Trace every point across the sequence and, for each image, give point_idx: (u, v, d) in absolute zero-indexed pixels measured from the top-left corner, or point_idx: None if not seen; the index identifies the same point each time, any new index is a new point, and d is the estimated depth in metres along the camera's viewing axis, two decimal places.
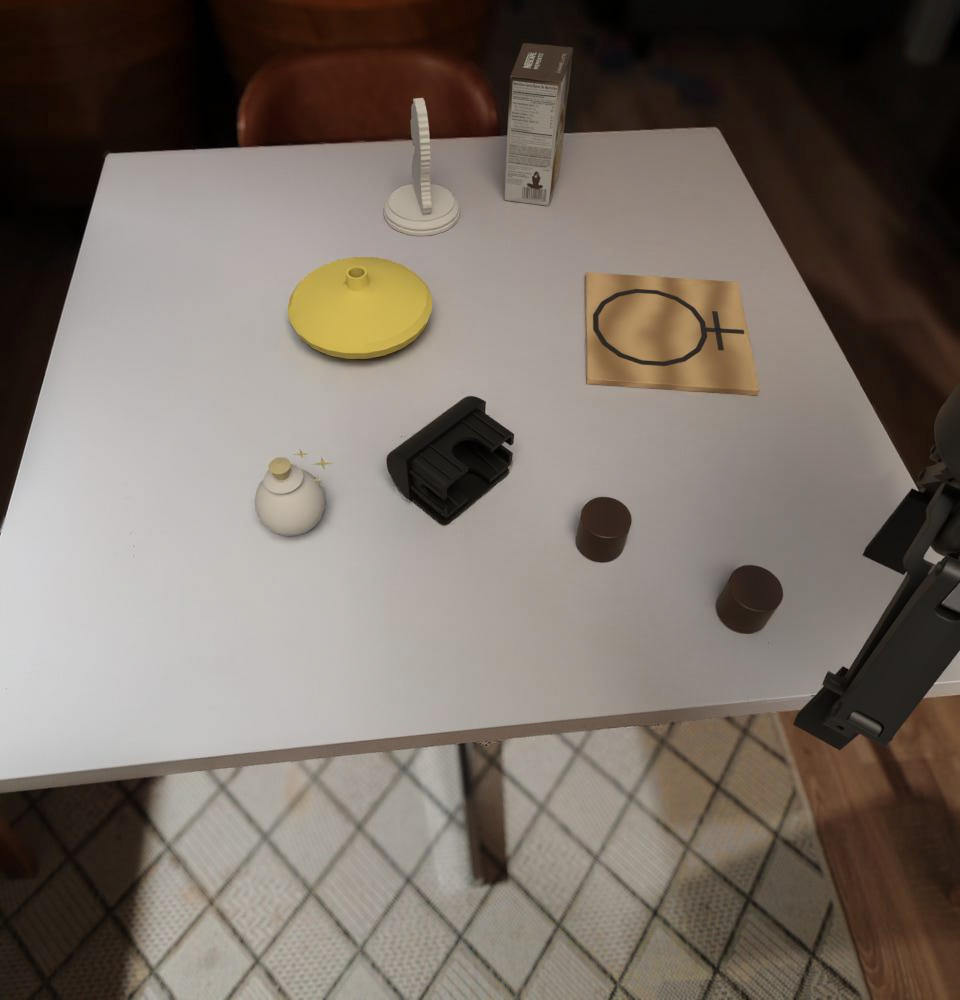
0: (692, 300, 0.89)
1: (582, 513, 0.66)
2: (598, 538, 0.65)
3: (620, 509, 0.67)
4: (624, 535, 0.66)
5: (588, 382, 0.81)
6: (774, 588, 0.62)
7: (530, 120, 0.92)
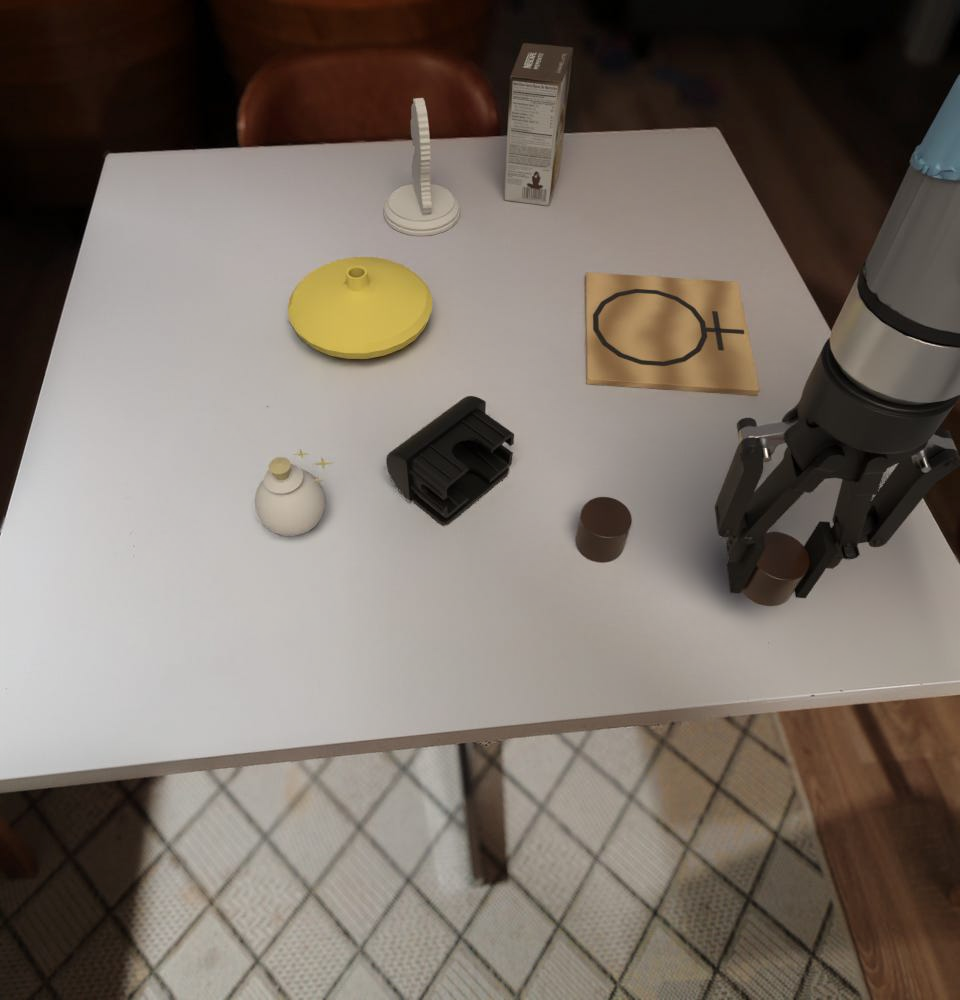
0: (692, 300, 0.89)
1: (582, 513, 0.66)
2: (598, 538, 0.65)
3: (620, 509, 0.67)
4: (624, 535, 0.66)
5: (588, 382, 0.81)
6: (800, 556, 0.58)
7: (530, 120, 0.92)
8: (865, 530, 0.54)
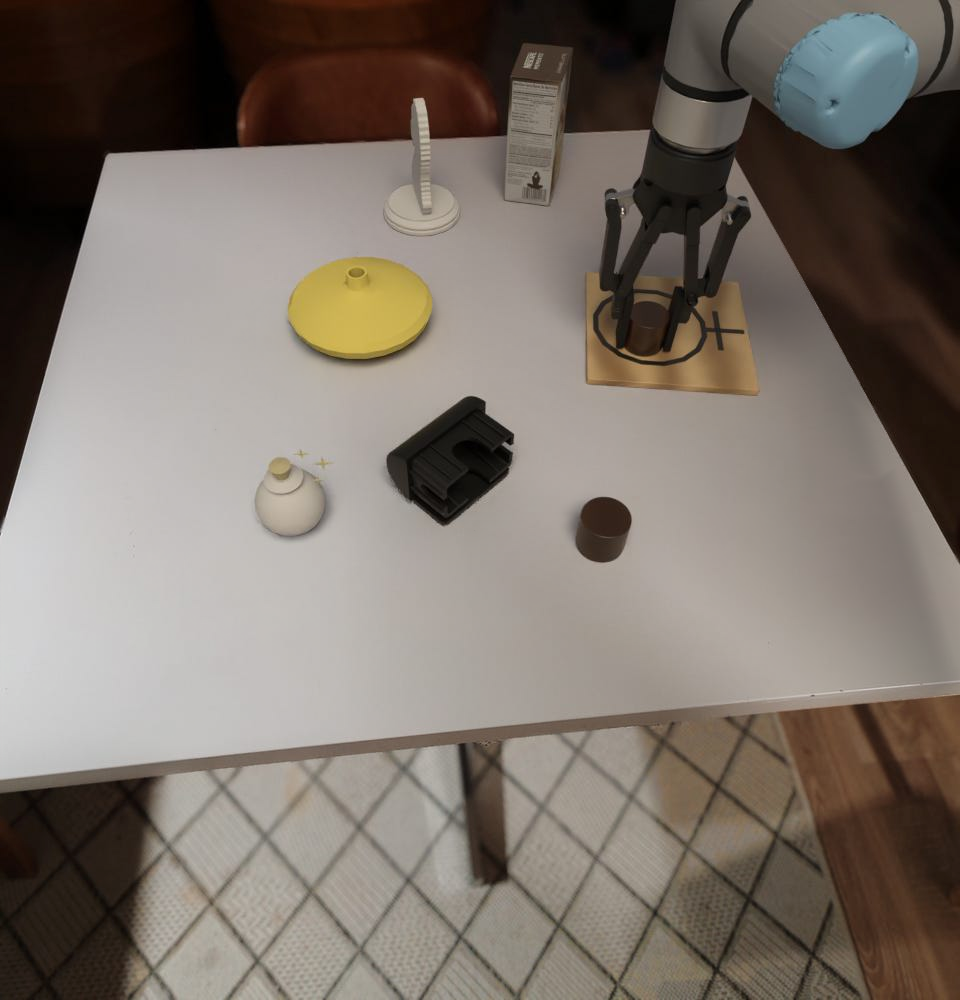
0: None
1: (582, 513, 0.66)
2: (598, 538, 0.65)
3: (620, 509, 0.67)
4: (624, 535, 0.66)
5: (588, 382, 0.81)
6: (663, 314, 0.81)
7: (530, 120, 0.92)
8: (702, 285, 0.77)
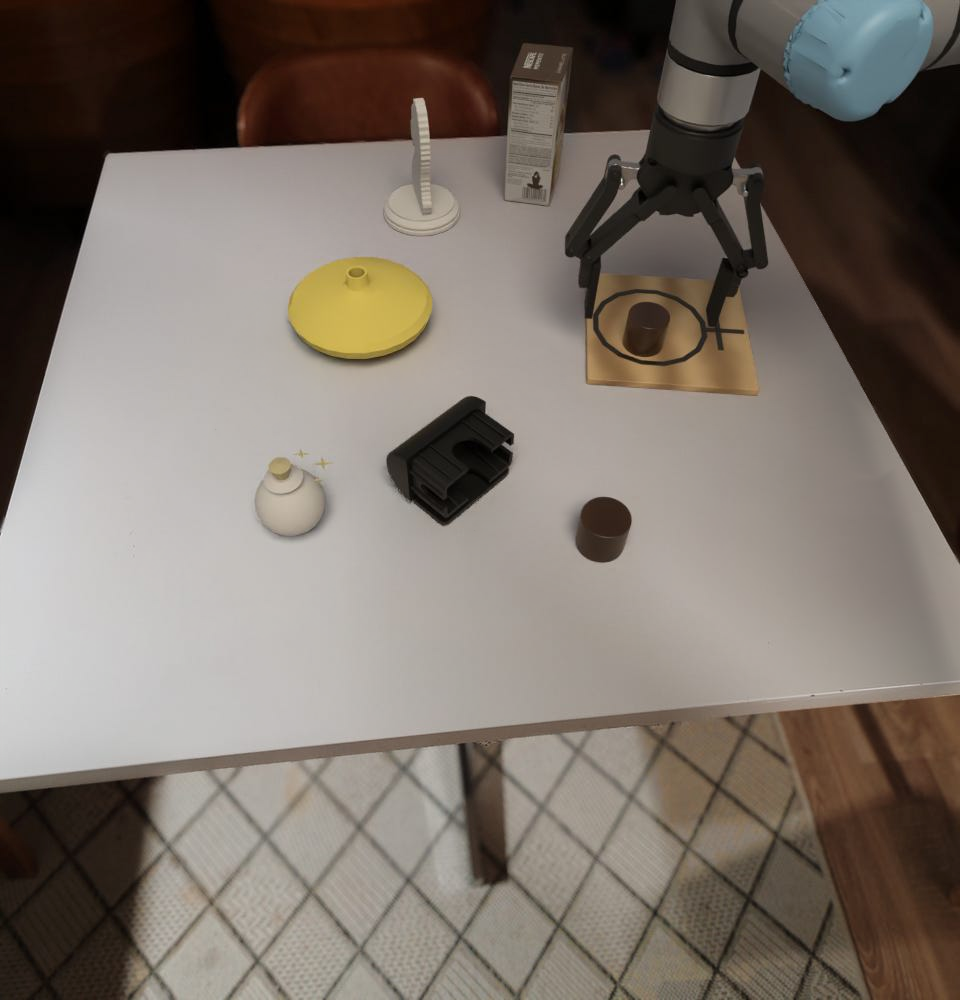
0: (692, 300, 0.89)
1: (582, 513, 0.66)
2: (598, 538, 0.65)
3: (620, 509, 0.67)
4: (624, 535, 0.66)
5: (588, 382, 0.81)
6: (663, 315, 0.81)
7: (530, 120, 0.92)
8: (753, 256, 0.74)
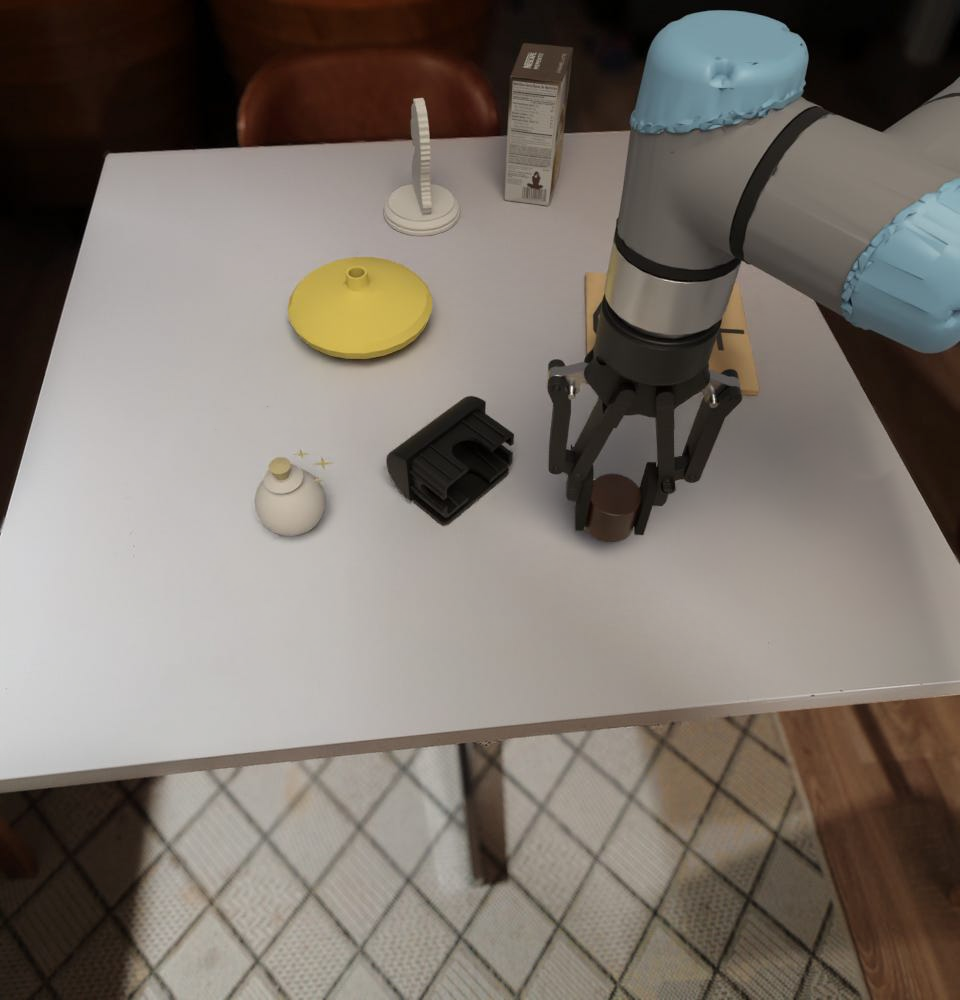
0: None
1: None
2: (606, 516, 0.62)
3: (629, 486, 0.64)
4: (634, 513, 0.63)
5: None
6: None
7: (530, 120, 0.92)
8: (681, 467, 0.59)
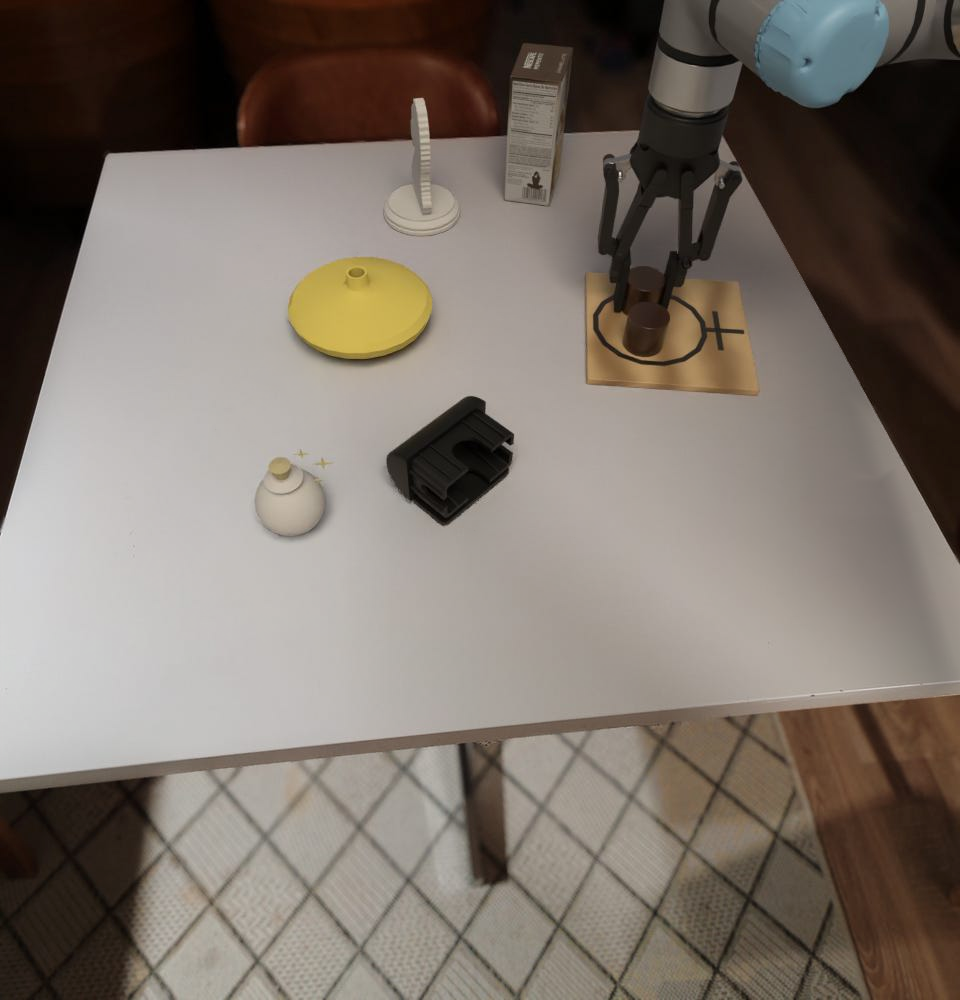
0: (692, 300, 0.89)
1: None
2: (639, 292, 0.84)
3: (656, 273, 0.85)
4: (660, 291, 0.84)
5: (588, 382, 0.81)
6: (663, 315, 0.81)
7: (530, 120, 0.92)
8: (696, 249, 0.81)
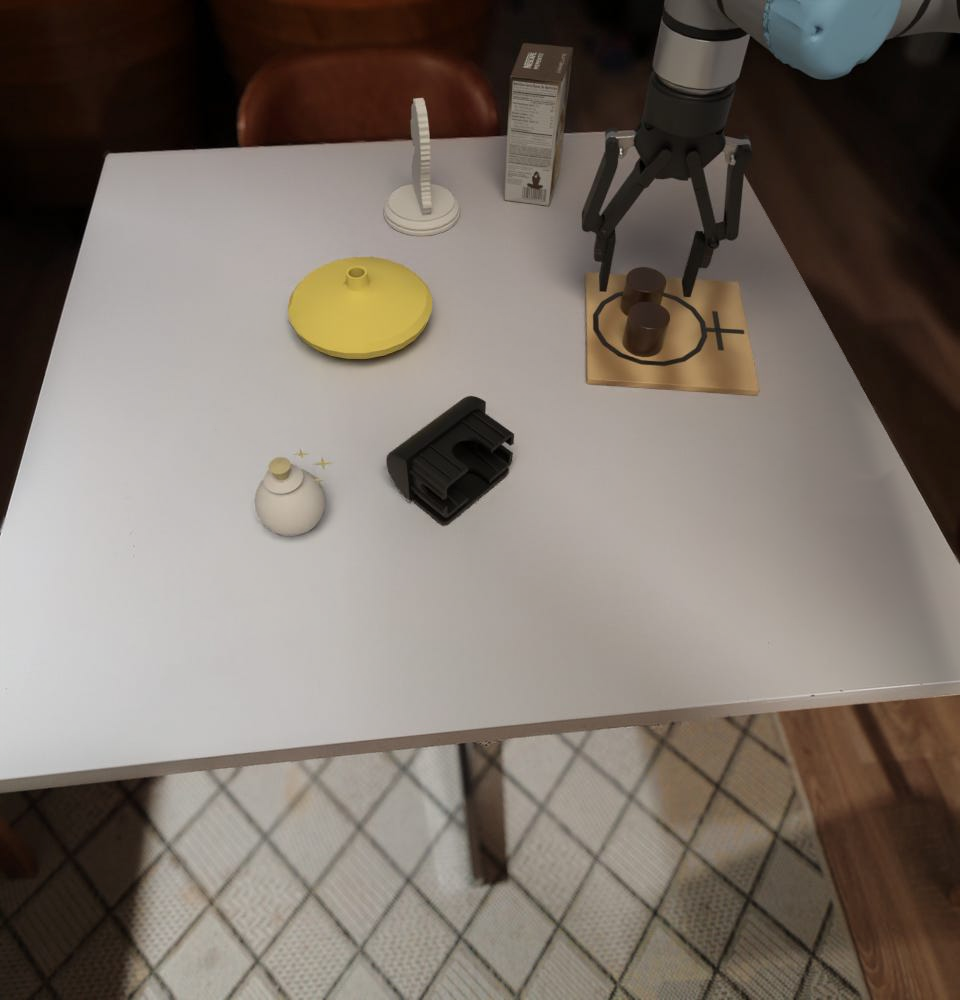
0: (692, 300, 0.89)
1: (627, 277, 0.85)
2: (640, 293, 0.84)
3: (657, 274, 0.85)
4: (660, 292, 0.84)
5: (588, 382, 0.81)
6: (663, 315, 0.81)
7: (530, 120, 0.92)
8: (723, 228, 0.78)
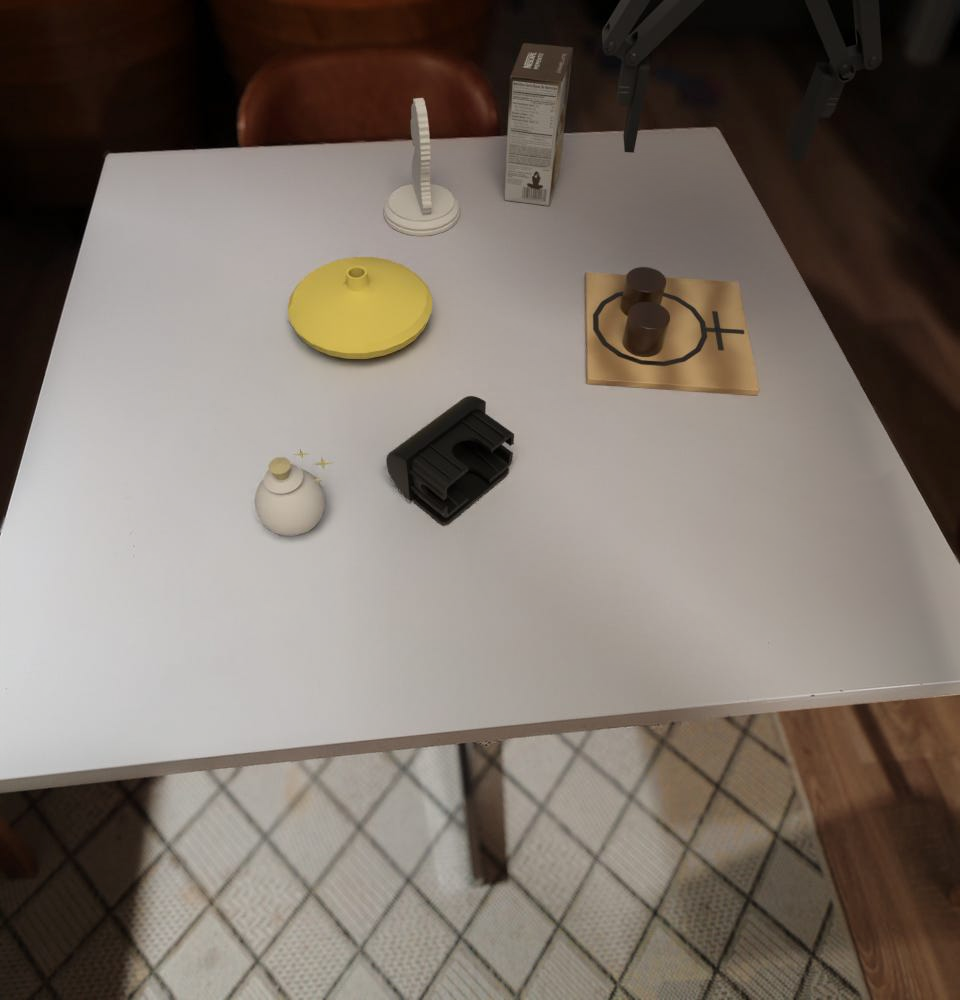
0: (692, 300, 0.89)
1: (627, 276, 0.85)
2: (640, 293, 0.84)
3: (657, 274, 0.85)
4: (660, 292, 0.84)
5: (588, 382, 0.81)
6: (663, 315, 0.81)
7: (530, 120, 0.92)
8: (861, 51, 0.56)
